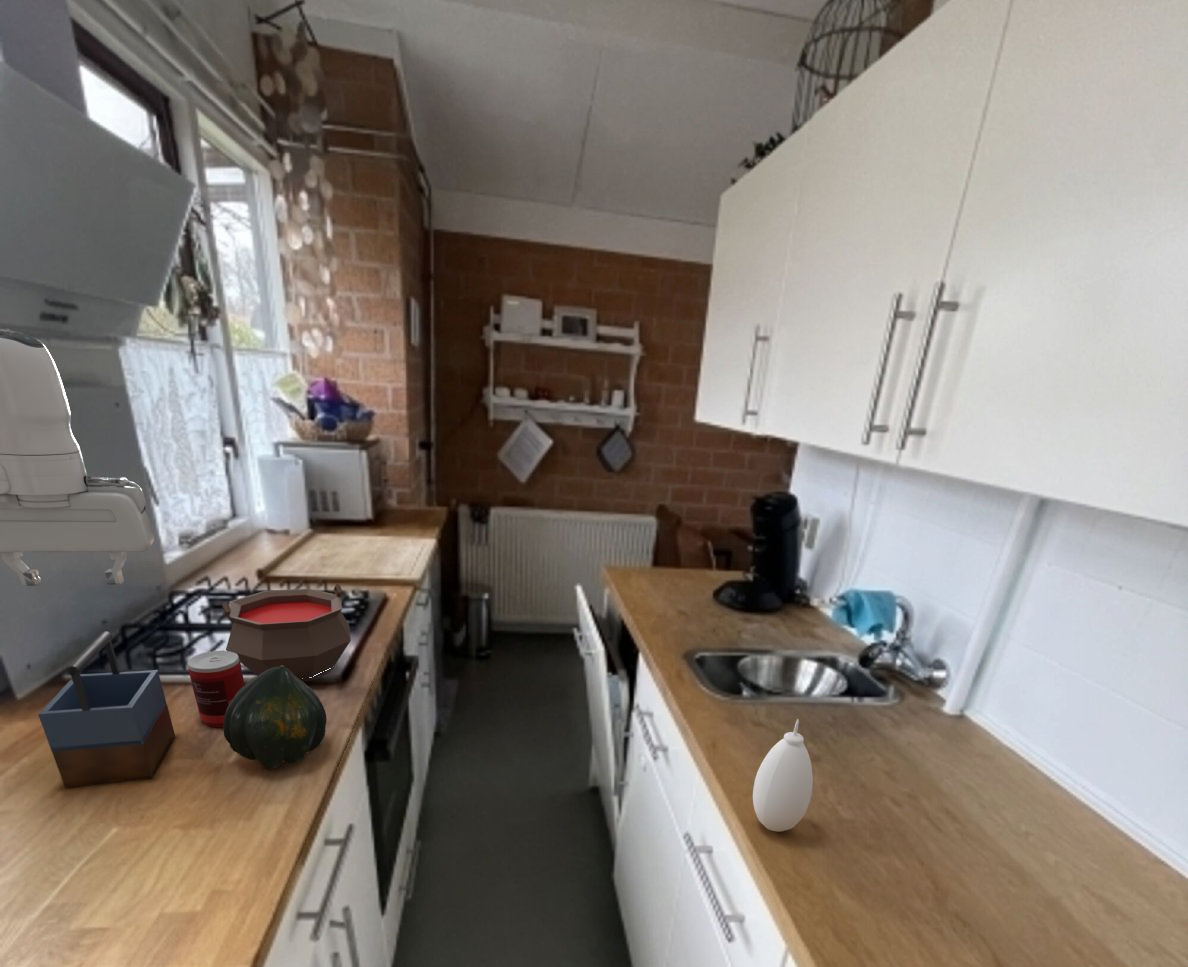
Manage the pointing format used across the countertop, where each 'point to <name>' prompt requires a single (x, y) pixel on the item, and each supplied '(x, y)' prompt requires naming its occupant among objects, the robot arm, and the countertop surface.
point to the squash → (275, 719)
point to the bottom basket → (117, 759)
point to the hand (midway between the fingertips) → (74, 584)
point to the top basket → (103, 705)
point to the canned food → (215, 684)
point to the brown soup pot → (288, 631)
